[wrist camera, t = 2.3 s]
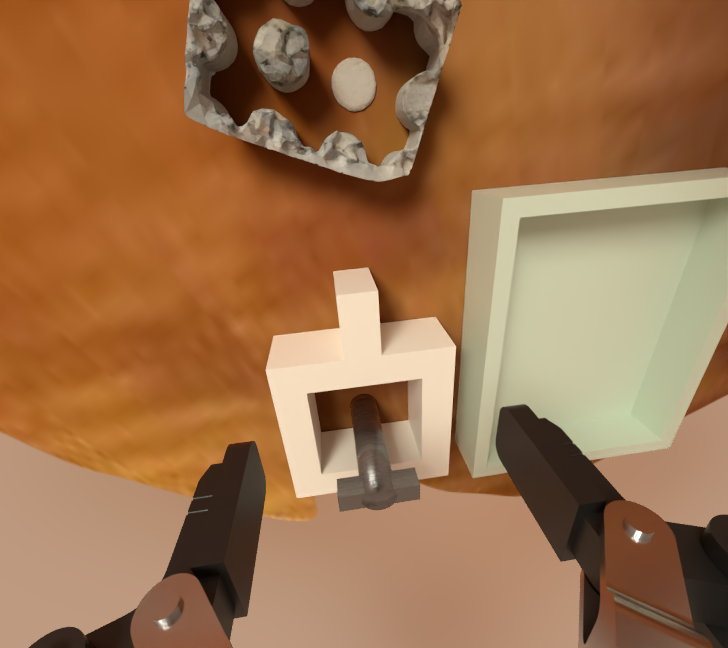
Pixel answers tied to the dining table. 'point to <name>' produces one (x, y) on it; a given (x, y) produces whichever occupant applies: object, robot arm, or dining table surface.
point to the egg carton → (291, 71)
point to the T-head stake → (373, 465)
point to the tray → (592, 308)
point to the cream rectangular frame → (362, 368)
